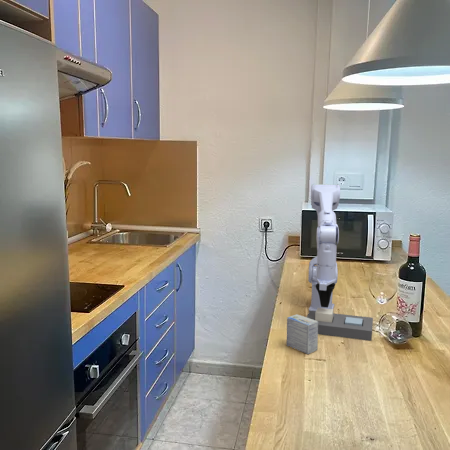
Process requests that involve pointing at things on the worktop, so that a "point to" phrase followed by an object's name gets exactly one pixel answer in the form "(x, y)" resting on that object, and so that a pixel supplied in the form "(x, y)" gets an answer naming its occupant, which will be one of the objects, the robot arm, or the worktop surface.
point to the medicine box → (302, 333)
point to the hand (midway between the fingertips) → (324, 306)
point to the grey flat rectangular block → (345, 327)
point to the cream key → (324, 315)
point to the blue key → (353, 321)
